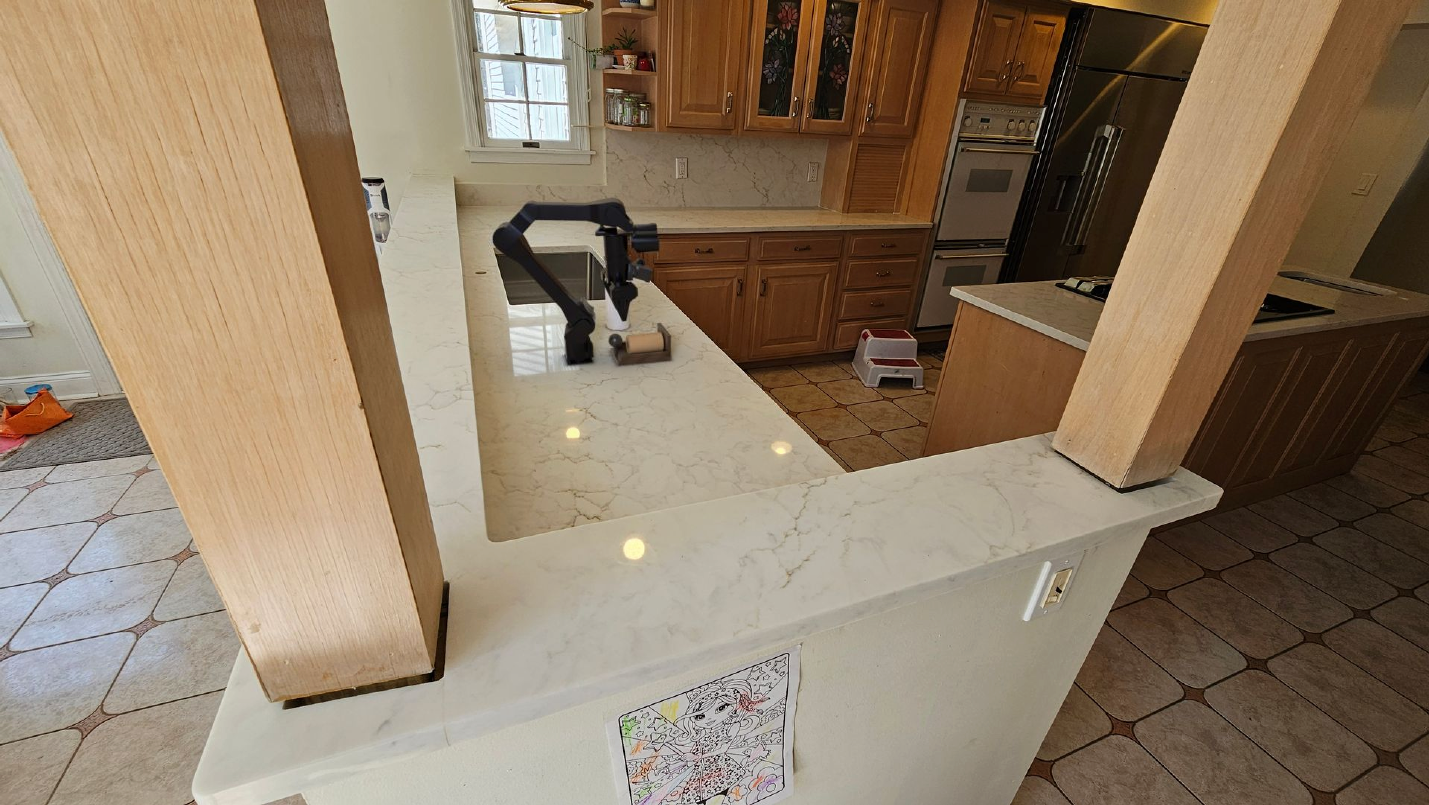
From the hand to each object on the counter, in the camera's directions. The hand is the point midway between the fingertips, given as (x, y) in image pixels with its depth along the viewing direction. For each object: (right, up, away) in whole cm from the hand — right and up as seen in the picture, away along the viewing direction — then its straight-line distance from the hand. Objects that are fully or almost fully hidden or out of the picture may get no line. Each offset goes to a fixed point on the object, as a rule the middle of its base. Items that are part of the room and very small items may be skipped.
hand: (620, 315), depth 154 cm
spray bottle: (-5, 0, +27) cm, 27 cm away
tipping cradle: (+3, -10, +7) cm, 13 cm away
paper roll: (+5, -7, +6) cm, 10 cm away
